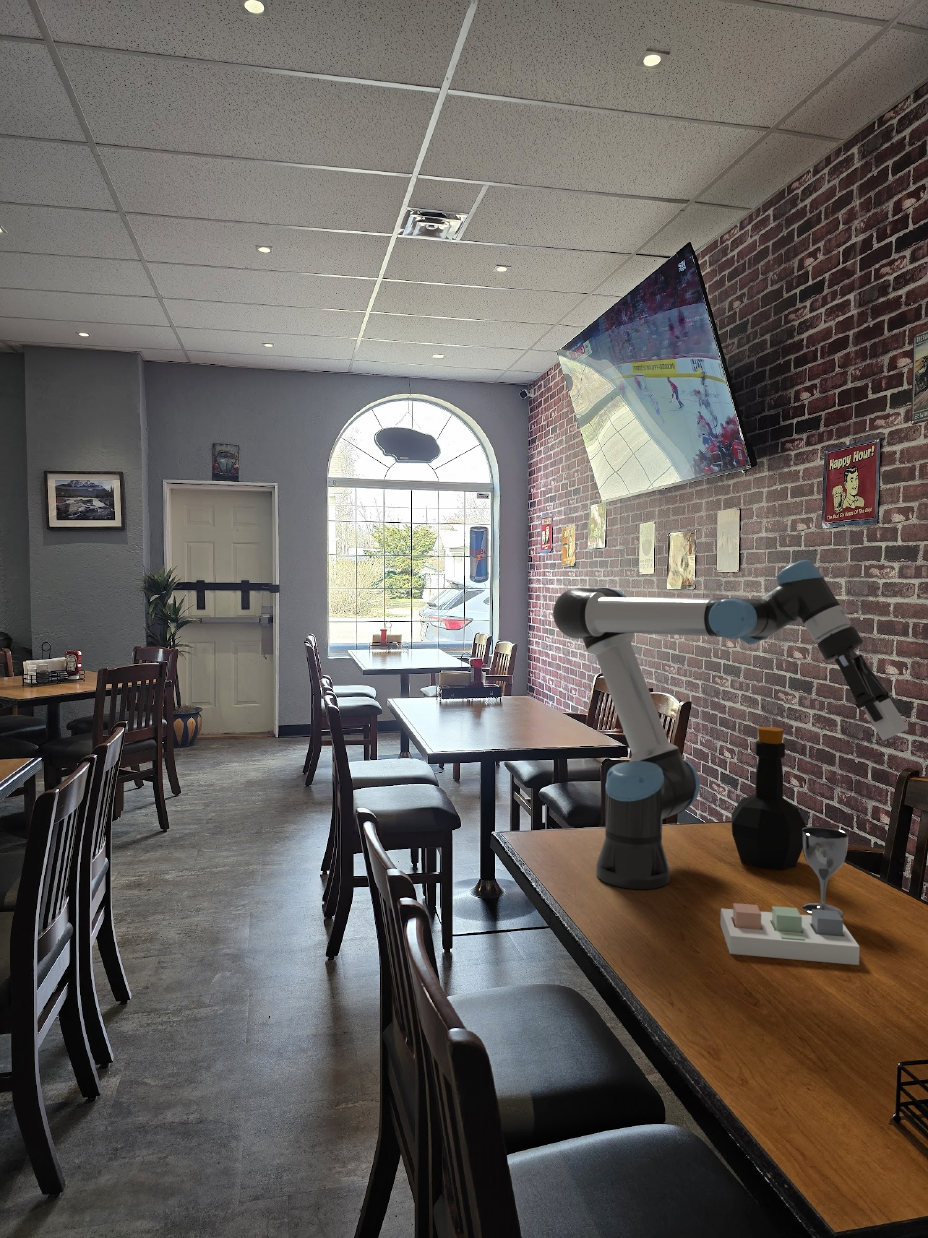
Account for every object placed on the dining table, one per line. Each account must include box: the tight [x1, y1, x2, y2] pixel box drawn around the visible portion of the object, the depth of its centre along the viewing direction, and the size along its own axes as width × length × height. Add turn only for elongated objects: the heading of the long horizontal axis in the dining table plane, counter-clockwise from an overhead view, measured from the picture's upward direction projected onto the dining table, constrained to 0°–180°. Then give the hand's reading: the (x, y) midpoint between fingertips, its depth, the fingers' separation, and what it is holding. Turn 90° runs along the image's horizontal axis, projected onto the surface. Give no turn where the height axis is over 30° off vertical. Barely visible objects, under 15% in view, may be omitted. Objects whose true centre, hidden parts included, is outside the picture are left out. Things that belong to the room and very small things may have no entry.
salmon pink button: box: [732, 902, 762, 930], centre depth 140 cm, size 4×4×3 cm
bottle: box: [731, 726, 808, 871], centre depth 182 cm, size 16×16×30 cm
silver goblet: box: [802, 825, 849, 918], centre depth 154 cm, size 8×8×15 cm
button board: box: [720, 908, 860, 966], centre depth 139 cm, size 20×12×3 cm, turn 80°
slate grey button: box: [811, 909, 844, 936], centre depth 138 cm, size 4×4×3 cm
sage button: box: [771, 905, 802, 933], centre depth 139 cm, size 4×4×3 cm
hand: (896, 734), depth 149 cm, fingers open, 13 cm apart
